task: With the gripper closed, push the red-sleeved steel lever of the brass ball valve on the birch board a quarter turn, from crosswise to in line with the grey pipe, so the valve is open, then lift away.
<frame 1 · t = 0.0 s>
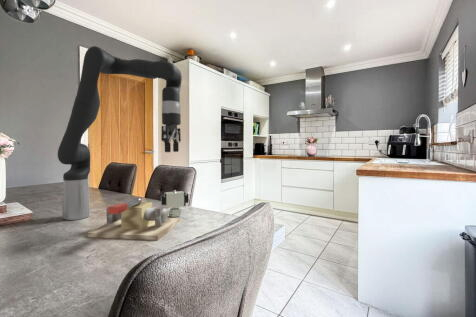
hand: (171, 152, 99), 29 cm above the table, tool pointing down, fingers open, 8 cm apart
valve lever: (127, 204, 83), point 11 cm above the table, hinge at 0.0°
pneumatic valve: (175, 216, 108), on the table
valve base: (137, 229, 90), on the table
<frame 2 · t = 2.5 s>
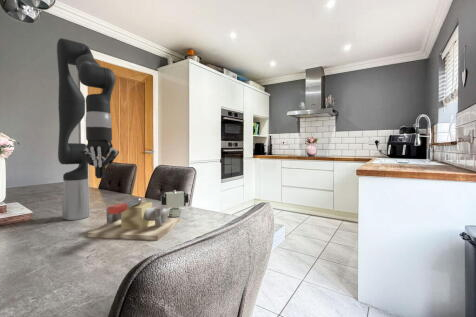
hand: (100, 178, 80), 21 cm above the table, tool pointing down, fingers closed
nothing on the table moved.
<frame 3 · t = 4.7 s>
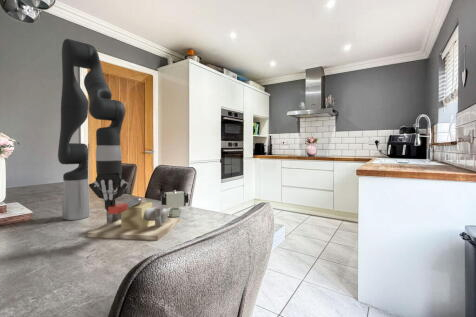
hand: (110, 210, 80), 10 cm above the table, tool pointing down, fingers closed
valve lever: (127, 204, 83), point 11 cm above the table, hinge at 0.1°, touching gripper
everything else where it was.
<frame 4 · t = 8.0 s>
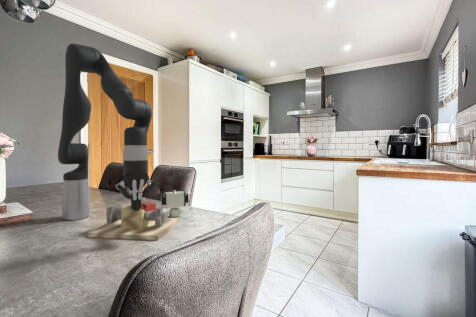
hand: (136, 210, 79), 10 cm above the table, tool pointing down, fingers closed
valve lever: (142, 203, 85), point 11 cm above the table, hinge at 48.4°, touching gripper
everything else where it was.
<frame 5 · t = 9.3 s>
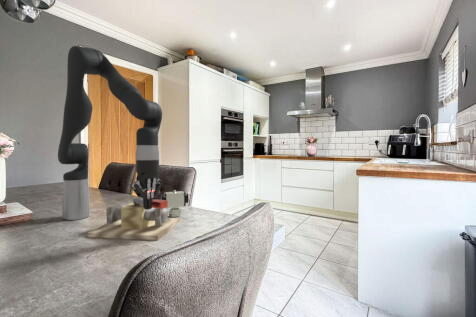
hand: (148, 208, 81), 10 cm above the table, tool pointing down, fingers closed
valve lever: (148, 202, 86), point 11 cm above the table, hinge at 68.9°, touching gripper
everything else where it was.
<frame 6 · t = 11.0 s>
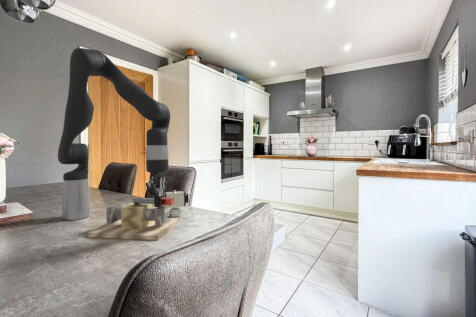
hand: (158, 206, 85), 10 cm above the table, tool pointing down, fingers closed
valve lever: (152, 201, 89), point 11 cm above the table, hinge at 90.9°, touching gripper
everything else where it was.
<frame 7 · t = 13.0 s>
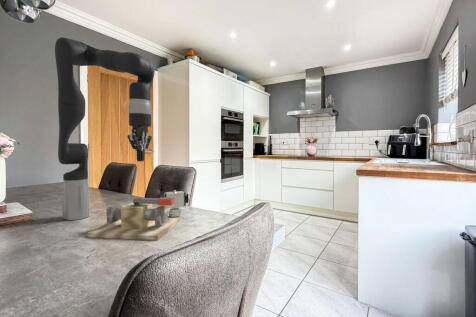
hand: (140, 161, 86), 26 cm above the table, tool pointing down, fingers closed
valve lever: (152, 201, 89), point 11 cm above the table, hinge at 90.9°
everything else where it was.
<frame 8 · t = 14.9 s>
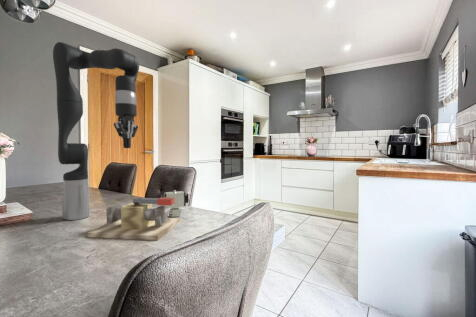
hand: (127, 148, 93), 31 cm above the table, tool pointing down, fingers closed
nothing on the table moved.
at the end: valve lever at +91° (first picture: +0°); pneumatic valve moved 0.2 cm from its start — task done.
